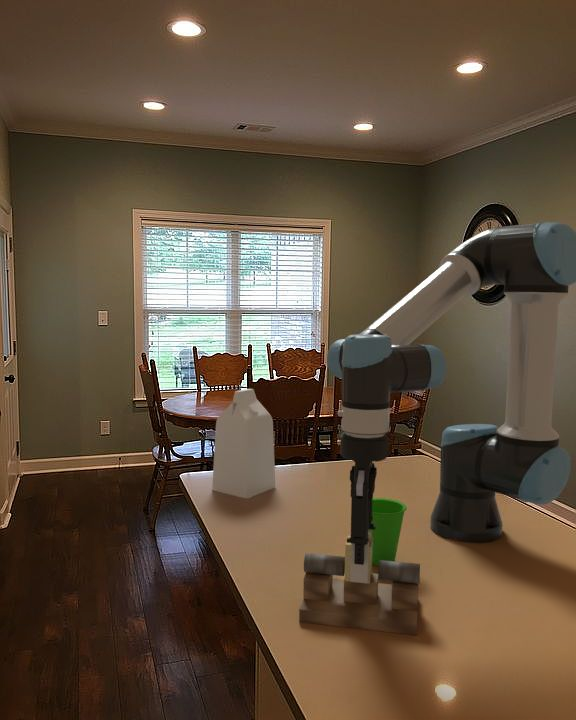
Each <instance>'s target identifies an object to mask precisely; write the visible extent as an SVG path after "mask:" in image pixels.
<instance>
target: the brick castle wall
mask: <svg viewBox="0 0 576 720" xmlns="http://www.w3.org/2000/svg"><path fill="white" fill-rule="evenodd" d="M377 570H378V573H373V572H372V574H371V580H370V584H368V583H358V582H350V581H345V556H341V555H340V556H339V555H330V554H329V555H327V554H320V553H319V554H318V553H308V552H306V553H305V555H304V558H303V572H304V573H305V574H304V576H303V599H302V601H301V605H300V606H299V609H298V613H299V615H298V617H299V618H298V622H302V623H310V624H317V625H325V626H326V625H328V626H334V627H344V628H350V629H351V628H352V629H361V630H369V631H376V632H377V631H378V632H384V633H385V632H386V633H394V634H403V635H409V636H410V635H413V636H417V634H418V633H417V632H418V604H419V603H418V601H419V600H418V599H419V584H421V583H420V578H421V577H420V576H421V564H420V563H415V562H414V563H413V562H404V561H402V562H401V561H384V560H379V566H378V569H377ZM334 576H339V577H344V578H343V579H341V578H334ZM379 581H388V582H392V583H390V584H389V583H383V582H382V583H381V582H380V583H379Z"/></svg>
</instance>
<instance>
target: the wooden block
mask: <svg viewBox="0 0 576 720" xmlns="http://www.w3.org/2000/svg"><path fill="white" fill-rule="evenodd" d="M347 538H351V534H350V535H347ZM368 539H369V560H368V584H370V580H371V574H372V573H373V564H372V551H373V538H371V537H368ZM344 549H345V551H344V552H345V555H344V557H345V573H344V578H345V581H350V573H351V543H347V541H346V542H345V548H344Z"/></svg>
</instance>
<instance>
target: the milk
mask: <svg viewBox="0 0 576 720" xmlns="http://www.w3.org/2000/svg"><path fill="white" fill-rule="evenodd" d="M255 392H256V391H255V389H254V388H246V389H240V390H235V391H234V394H233V398H232V402H231V403H230V405H228V406H227V407H226V408H225V409H224V411H222V413H220V415H218V417H217V418H216V422H215V432H214V433H215V437H214V450H213V452H214V453H213V454H214V455H213V470H212V485H211V486H212V487H211V488H212V489H211V490H212V491H215V492H219V493H221V494H226V495H230V496H234V497H238V498H241V499H250V498H252V497H254V496H257V495H260V494H261V493H262V494H263V493H264V492H267V491H269V490H272V489H275V488H276V467H275V463H276V462H275V443H274V441H275V438H274V437H275V436H274V421H273V420H274V419H273V417H272V415H271V414H270V413H269V411H268V410H267V408H265V406H263V404H262V403H261V402H260V401H259V399H257V396H256V393H255Z"/></svg>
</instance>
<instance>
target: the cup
mask: <svg viewBox="0 0 576 720" xmlns="http://www.w3.org/2000/svg"><path fill="white" fill-rule="evenodd" d="M406 511H407V505H406V504H405V503H403V502H401V501H399V500H396V499H392V498H385V497H384V498H383V497H382V498H381V497H373V504H372V517H373V520H372V522H371V524H376V529H375V530H372V529H368V531H371V538H373V551H372V566H376V567H379V560H384V561H394V562H396V557H397V551H398V545H399V540H400V536H401V531H402V526H403V520H404V515H405V512H406Z"/></svg>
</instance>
